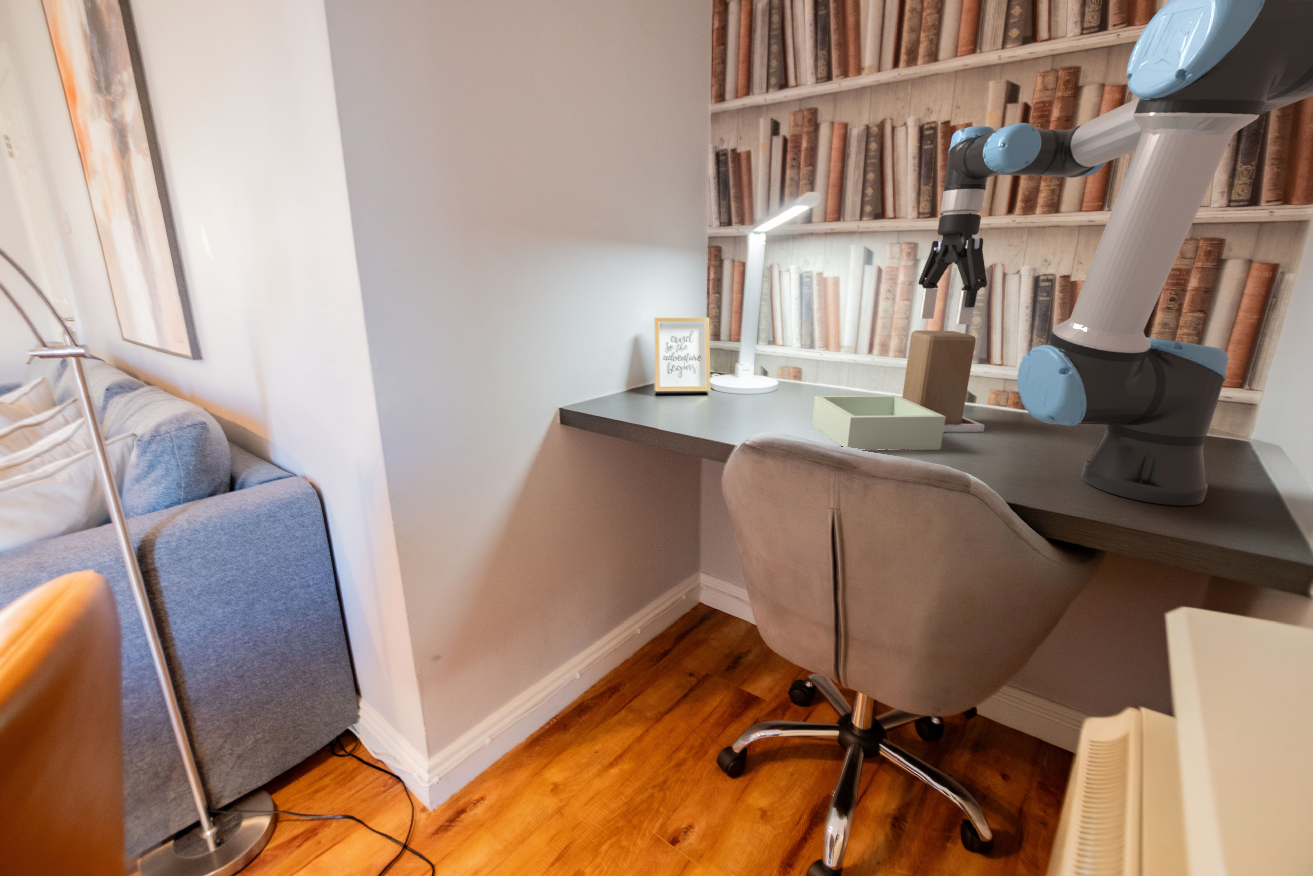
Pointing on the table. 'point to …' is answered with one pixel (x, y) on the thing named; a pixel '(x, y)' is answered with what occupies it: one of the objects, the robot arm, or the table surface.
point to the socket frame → (964, 426)
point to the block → (939, 372)
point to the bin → (878, 422)
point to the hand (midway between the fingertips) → (944, 321)
